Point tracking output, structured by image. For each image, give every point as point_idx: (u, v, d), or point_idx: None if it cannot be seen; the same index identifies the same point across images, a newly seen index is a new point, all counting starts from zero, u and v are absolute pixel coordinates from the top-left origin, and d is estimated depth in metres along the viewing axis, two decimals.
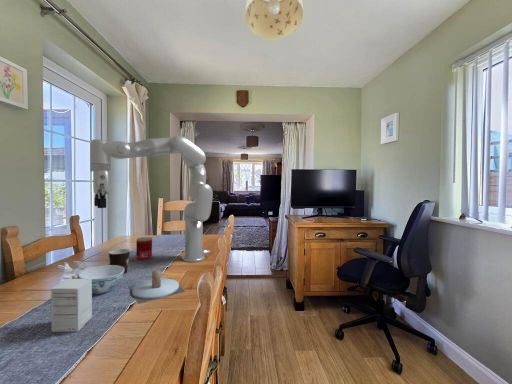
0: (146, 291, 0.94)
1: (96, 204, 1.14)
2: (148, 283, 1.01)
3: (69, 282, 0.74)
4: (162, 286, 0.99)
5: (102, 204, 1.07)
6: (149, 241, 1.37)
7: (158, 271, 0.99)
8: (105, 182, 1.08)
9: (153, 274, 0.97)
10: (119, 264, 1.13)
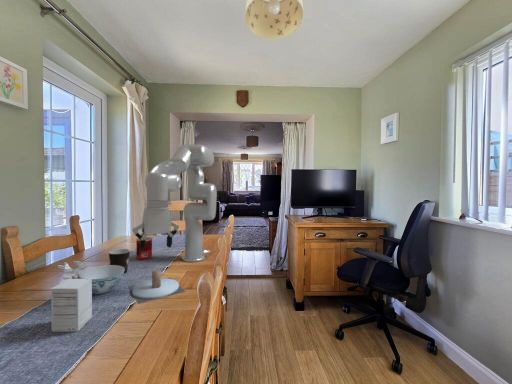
0: (146, 291, 0.94)
1: None
2: (148, 283, 1.01)
3: (69, 282, 0.74)
4: (162, 286, 0.99)
5: None
6: (149, 241, 1.37)
7: (158, 271, 0.99)
8: None
9: (153, 274, 0.97)
10: (119, 264, 1.13)
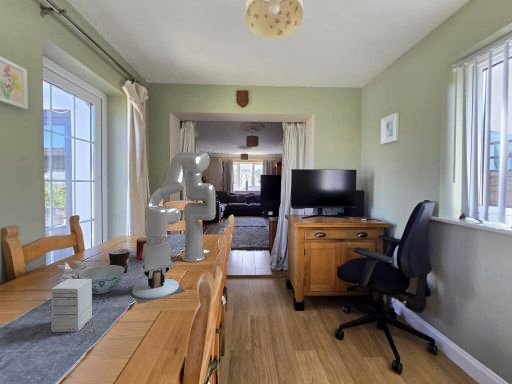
0: (146, 291, 0.94)
1: None
2: None
3: (69, 282, 0.74)
4: (162, 286, 0.99)
5: None
6: None
7: (158, 271, 0.99)
8: None
9: (153, 274, 0.97)
10: (119, 264, 1.13)
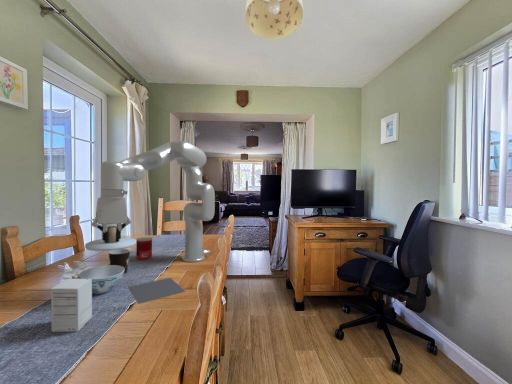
0: (99, 245, 0.92)
1: (107, 240, 0.95)
2: None
3: (69, 282, 0.74)
4: (118, 242, 0.97)
5: None
6: (149, 241, 1.37)
7: (114, 226, 0.96)
8: None
9: (108, 229, 0.95)
10: (119, 264, 1.13)
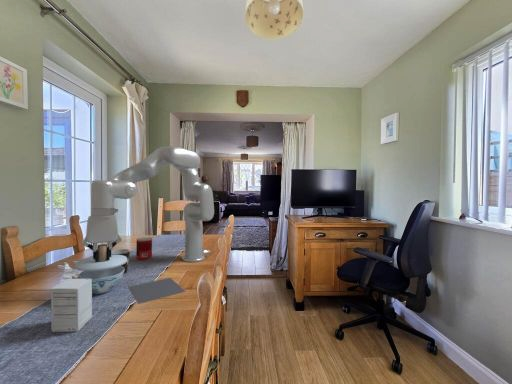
0: (89, 264, 0.92)
1: (97, 259, 0.95)
2: None
3: (69, 282, 0.74)
4: (108, 260, 0.97)
5: (110, 254, 0.98)
6: (149, 241, 1.37)
7: (104, 245, 0.96)
8: None
9: (98, 247, 0.95)
10: None
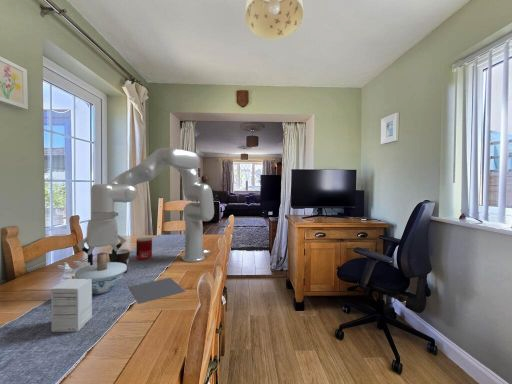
0: (89, 273, 0.92)
1: (92, 262, 0.94)
2: (95, 266, 0.99)
3: (69, 282, 0.74)
4: (108, 269, 0.97)
5: None
6: (149, 241, 1.37)
7: (104, 253, 0.96)
8: None
9: (98, 256, 0.95)
10: None
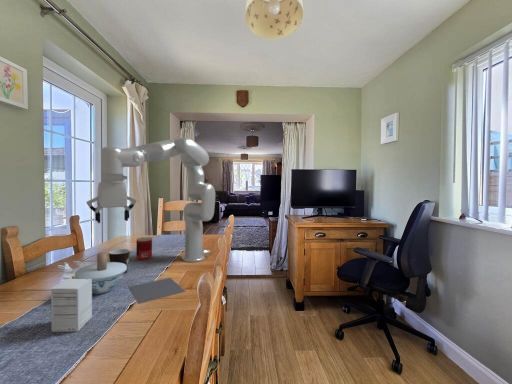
0: (88, 273, 0.92)
1: None
2: (95, 266, 0.99)
3: (69, 282, 0.74)
4: (108, 269, 0.97)
5: None
6: (149, 241, 1.37)
7: (104, 253, 0.96)
8: None
9: (98, 256, 0.95)
10: None
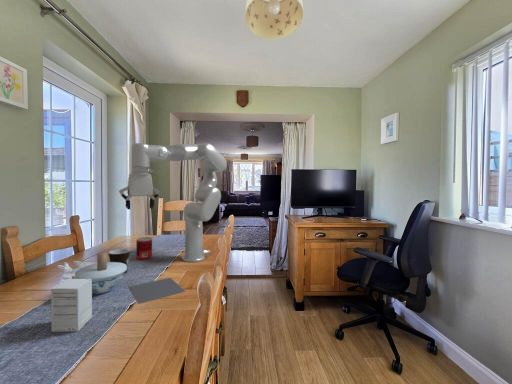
0: (89, 273, 0.92)
1: None
2: (95, 266, 0.99)
3: (69, 282, 0.74)
4: (108, 269, 0.97)
5: None
6: (149, 241, 1.37)
7: (104, 253, 0.96)
8: None
9: (98, 256, 0.95)
10: None
